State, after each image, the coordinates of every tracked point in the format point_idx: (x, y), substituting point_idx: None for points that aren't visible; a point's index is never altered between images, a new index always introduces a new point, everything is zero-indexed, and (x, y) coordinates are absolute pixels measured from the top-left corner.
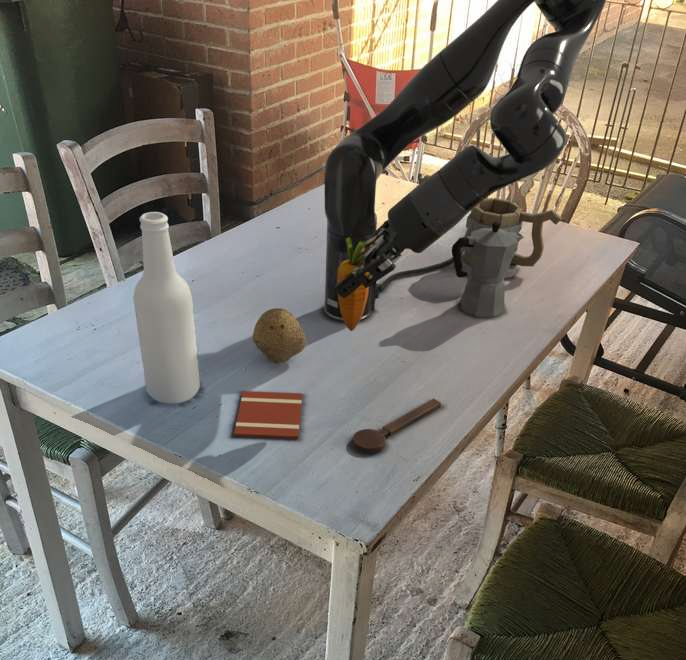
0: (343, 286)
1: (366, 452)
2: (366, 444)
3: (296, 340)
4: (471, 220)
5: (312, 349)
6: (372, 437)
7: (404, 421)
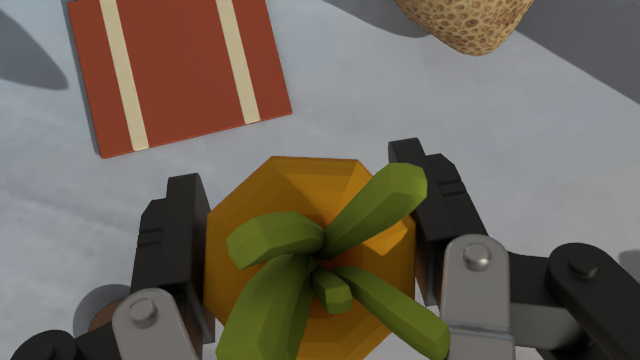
0: (139, 234)
1: None
2: None
3: (438, 29)
4: None
5: (533, 72)
6: None
7: None
